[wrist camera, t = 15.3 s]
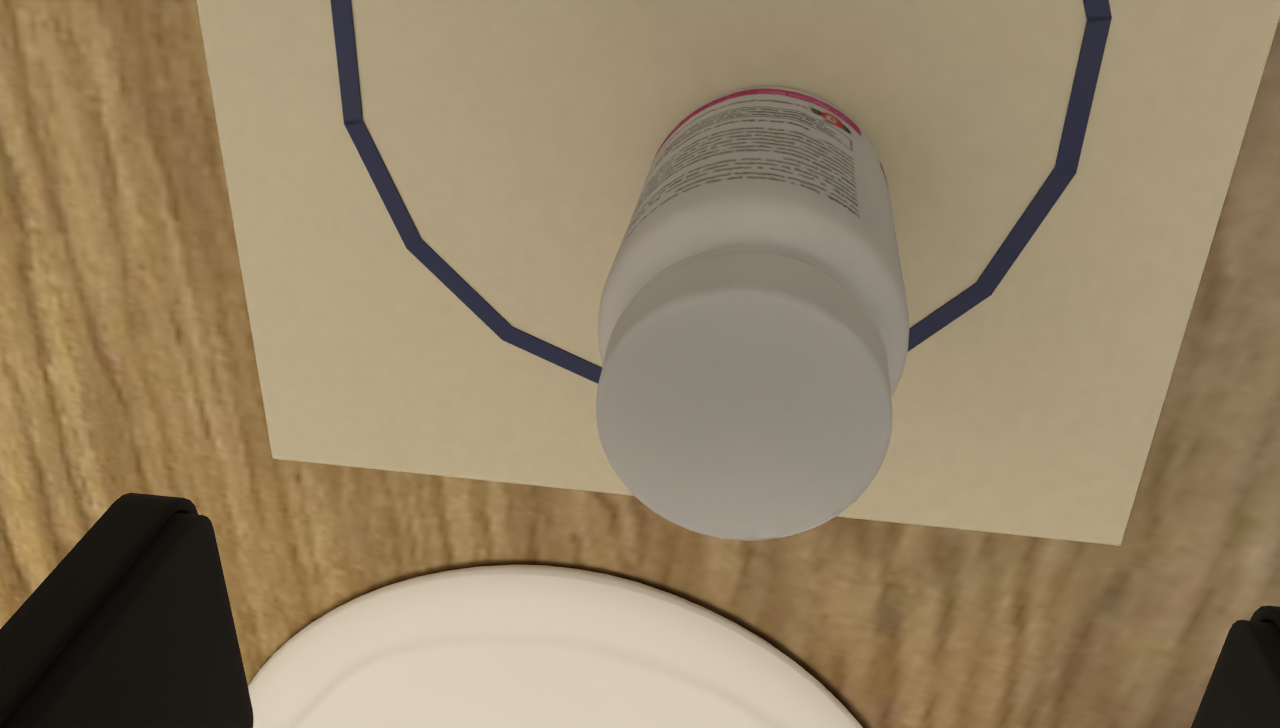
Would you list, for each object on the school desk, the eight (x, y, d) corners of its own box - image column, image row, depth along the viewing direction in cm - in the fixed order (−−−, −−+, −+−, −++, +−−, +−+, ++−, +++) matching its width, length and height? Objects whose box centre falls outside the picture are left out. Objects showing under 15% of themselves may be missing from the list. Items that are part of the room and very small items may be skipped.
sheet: (103, -605, 17) (91, -611, 17) (1462, -615, 15) (1475, -623, 15) (276, 452, 27) (270, 460, 27) (1117, 538, 25) (1121, 548, 25)
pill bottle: (598, 176, 22) (492, 382, 15) (794, 29, 20) (782, 182, 13) (740, 348, 23) (706, 613, 16) (934, 225, 22) (996, 465, 14)
